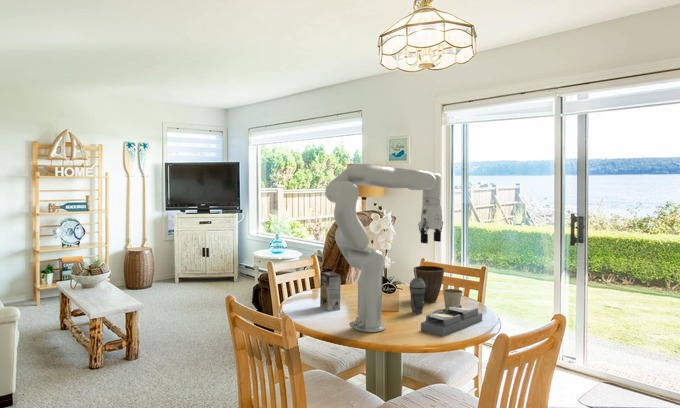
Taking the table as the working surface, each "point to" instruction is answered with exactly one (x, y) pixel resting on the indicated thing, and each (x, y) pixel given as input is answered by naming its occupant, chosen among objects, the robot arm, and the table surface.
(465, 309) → the outer rocker
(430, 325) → the switch panel
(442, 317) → the inner rocker
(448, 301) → the flower pot
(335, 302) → the coffee box
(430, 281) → the plant pot
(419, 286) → the beverage cup
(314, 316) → the table surface
